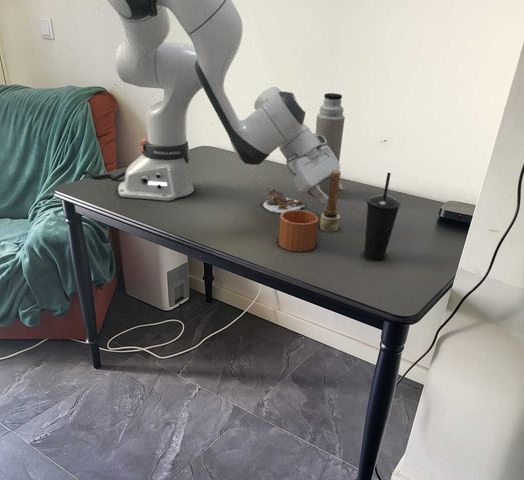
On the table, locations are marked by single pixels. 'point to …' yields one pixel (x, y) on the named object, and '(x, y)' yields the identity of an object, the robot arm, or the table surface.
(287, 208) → the frog figurine
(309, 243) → the tumbler
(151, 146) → the robot arm
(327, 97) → the thermos bottle
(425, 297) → the table surface
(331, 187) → the brush
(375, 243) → the drinking cup
